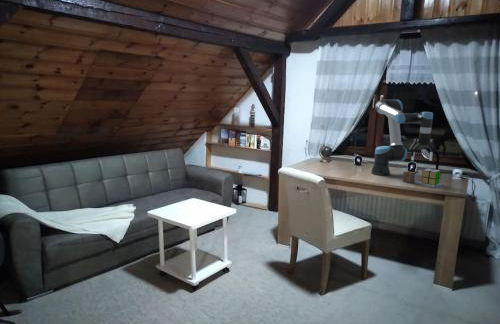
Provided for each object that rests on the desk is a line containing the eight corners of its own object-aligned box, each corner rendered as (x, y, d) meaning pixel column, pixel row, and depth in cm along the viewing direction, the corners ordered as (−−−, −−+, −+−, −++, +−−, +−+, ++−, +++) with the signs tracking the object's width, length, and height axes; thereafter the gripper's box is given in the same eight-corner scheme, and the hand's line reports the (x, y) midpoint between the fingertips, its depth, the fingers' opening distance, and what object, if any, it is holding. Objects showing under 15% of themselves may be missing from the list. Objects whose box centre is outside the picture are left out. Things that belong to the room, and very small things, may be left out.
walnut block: (402, 181, 278) (403, 171, 276) (407, 180, 281) (408, 171, 279) (409, 183, 273) (410, 173, 271) (414, 182, 276) (415, 172, 274)
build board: (416, 183, 272) (416, 182, 272) (426, 181, 279) (427, 180, 279) (433, 188, 260) (433, 186, 260) (444, 185, 268) (444, 184, 268)
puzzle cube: (425, 180, 277) (426, 168, 275) (439, 183, 270) (440, 170, 268) (421, 183, 270) (422, 170, 268) (435, 185, 263) (436, 172, 261)
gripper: (410, 133, 262) (407, 161, 267) (444, 133, 262) (440, 161, 267) (406, 131, 269) (403, 158, 274) (439, 132, 269) (435, 159, 274)
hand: (421, 160), depth 270 cm, fingers open, 13 cm apart
